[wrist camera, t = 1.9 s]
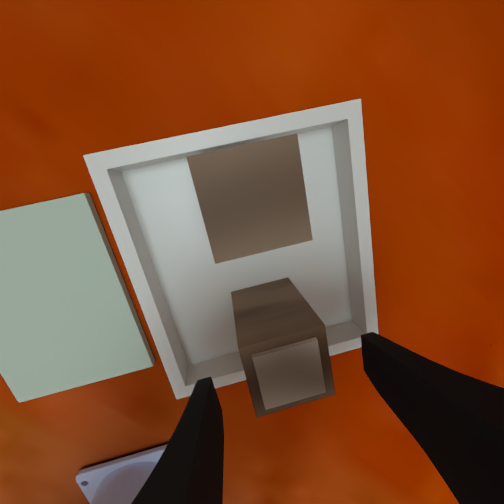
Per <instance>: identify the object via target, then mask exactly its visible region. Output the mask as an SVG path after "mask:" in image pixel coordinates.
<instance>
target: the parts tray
mask: <svg viewBox="0 0 504 504" xmlns="http://www.w3.org/2000/svg"><path fill="white" fill-rule="evenodd" d="M296 133H297V135H298V142H299V149H300V156H301V163H302V170H303V177H304V184H305V190H306V197H307V204H308V211H309V218H310V225H311V232H312V239H313V240H311V241H307V242H303V243H299V244H295V245H290V246H286V247H282V248H278V249H274V250H270V251H266V252H262V253H258V254H254V255H250V256H246V257H242V258H237V259H233V260H229V261H225V262H221V263H217V264H215V261H214V258H213V254H212V250H211V246H210V243H209V239H208V235H207V232H206V228H205V224H204V221H203V217H202V213H201V209H200V206H199V202H198V198H197V195H196V191H195V187H194V184H193V180H192V176H191V173H190V169H189V165H188V161H187V158H186V157H187V156H192V155H197V154H201V153H206V152H211V151H216V150H220V149H225V148H230V147H235V146H239V145H244V144H249V143H254V142H258V141H263V140H268V139H273V138H277V137H282V136H287V135H292V134H296ZM83 157H84V159H85V162H86V165H87V167H88V170H89V172H90V175H91V178H92V180H93V183H94V185H95V188H96V191H97V193H98V196H99V199H100V201H101V204H102V206H103V209H104V212H105V214H106V217H107V219H108V222H109V225H110V227H111V230H112V232H113V235H114V238H115V240H116V243H117V246H118V248H119V251H120V253H121V256H122V259H123V261H124V264H125V266H126V269H127V272H128V274H129V277H130V280H131V282H132V285H133V287H134V290H135V293H136V295H137V298H138V300H139V303H140V306H141V308H142V311H143V313H144V316H145V319H146V321H147V324H148V327H149V329H150V332H151V334H152V337H153V340H154V342H155V345H156V347H157V350H158V353H159V355H160V358H161V360H162V363H163V366H164V368H165V371H166V374H167V376H168V379H169V381H170V384H171V387H172V389H173V392H174V394H175V397H176V400H177V399H180V398H184V397H187V396H191V394H192V391H193V389H194V387H195V384H196V382H197V381H198V380H200V379H203V378H207V377H211V378H212V381H213V384H214V387H215V389H216V388H219V387H223V386H226V385H230V384H233V383H237V382H240V381H244V380H246V376H245V372H244V368H243V365H242V361H241V357H240V354H239V350H238V344H237V336H236V328H235V320H234V312H233V305H232V297H231V292H232V291H236V290H240V289H244V288H248V287H252V286H256V285H260V284H264V283H268V282H272V281H275V280H279V279H283V278H287V277H288V278H289V279H290V280H291V282H292V283H293V284H294V286H295V287H296V288H297V289H298V291H299V292H300V293H301V295H302V296H303V297H304V298H305V300H306V301H307V302H308V304H309V305H310V306H311V307H312V309H313V310H314V311H315V313H316V314H317V315H318V316H319V318H320V319H321V320H322V322H323V323H324V324H325V328H326V335H327V342H328V349H329V355H330V356H332V355H336V354H339V353H343V352H346V351H350V350H353V349H357V348H360V347H362V345H361V335H363V334H366V333H370V332H374V333H376V334H378V321H377V308H376V294H375V281H374V268H373V254H372V241H371V228H370V214H369V201H368V187H367V174H366V161H365V147H364V134H363V120H362V107H361V99H357V100H352V101H347V102H342V103H337V104H332V105H327V106H322V107H318V108H313V109H308V110H303V111H298V112H293V113H288V114H283V115H278V116H273V117H269V118H264V119H259V120H254V121H249V122H244V123H239V124H234V125H229V126H224V127H220V128H215V129H210V130H205V131H200V132H195V133H190V134H185V135H180V136H175V137H171V138H166V139H161V140H156V141H151V142H146V143H141V144H136V145H131V146H126V147H122V148H117V149H112V150H107V151H102V152H97V153H92V154H87V155H83Z"/></svg>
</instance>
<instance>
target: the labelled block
mask: <svg viewBox="0 0 504 504" xmlns="http://www.w3.org/2000/svg"><path fill="white" fill-rule="evenodd" d="M231 297H232V305H233V312H234V320H235V328H236V336H237V344H238V350H239V354H240V357H241V361H242V365H243V368H244V372H245V376H246V380H247V383H248V387H249V391H250V394H251V398H252V402H253V405H254V409H255V413H256V417H259V416H263V415H266V414H270V413H273V412H276V411H280V410H283V409H286V408H290V407H293V406H297V405H300V404H303V403H307V402H310V401H314V400H317V399H320V398H324V397H327V396H330V395H334V394H335V390H334V383H333V376H332V369H331V362H330V355H329V349H328V342H327V335H326V328H325V324H324V323H323V322H322V320H321V319H320V318H319V316H318V315H317V314H316V313H315V311H314V310H313V309H312V307H311V306H310V305H309V304H308V302H307V301H306V300H305V298H304V297H303V296H302V295H301V293H300V292H299V291H298V289H297V288H296V287H295V286H294V284H293V283H292V282H291V280H290V279H289V278H288V277H287V278H283V279H279V280H275V281H272V282H268V283H264V284H260V285H256V286H252V287H248V288H244V289H240V290H236V291H232V292H231Z"/></svg>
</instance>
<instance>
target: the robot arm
mask: <svg viewBox="0 0 504 504" xmlns="http://www.w3.org/2000/svg"><path fill="white" fill-rule="evenodd" d="M361 345H362V355H363V365H364V371H365V372H366V374H367V376H368V377H369V379H370V381H371V382H372V384H373V385H374V387H375V388H376V390H377V391H378V393H379V394H380V395H381V397H382V398H383V399H384V400H385V402H386V403H387V404H388V405H389V407H390V408H391V409H392V410H393V412H394V413H395V414H396V415H397V417H398V418H399V419H400V420H401V422H402V423H403V424H404V425H405V427H406V428H407V429H408V430H409V432H410V433H411V434H412V435H413V437H414V438H415V439H416V441H417V442H418V443H419V445H420V446H421V447H422V449H423V450H424V451H425V453H426V454H427V456H428V457H429V459H430V460H431V461H432V463H433V464H434V466H435V467H436V469H437V470H438V472H439V473H440V475H441V476H442V478H443V479H444V481H445V482H446V484H447V485H448V487H449V488H450V490H451V491H452V493H453V494H454V496H455V497H456V499H457V501H458V502H459V504H504V388H501V387H498V386H495V385H492V384H489V383H486V382H483V381H481V380H478V379H475V378H473V377H470V376H467V375H464V374H462V373H459V372H457V371H454V370H452V369H449V368H447V367H445V366H443V365H440V364H438V363H436V362H433V361H431V360H429V359H427V358H425V357H423V356H420V355H418V354H416V353H414V352H412V351H410V350H408V349H406V348H404V347H402V346H400V345H398V344H396V343H394V342H392V341H390V340H388V339H386V338H384V337H382V336H380V335H378V334H376V333H374V332H370V333H366V334H363V335H361ZM223 458H224V430H223V417H222V409H221V406H220V403H219V400H218V397H217V393H216V390H215V387H214V384H213V381H212V378H211V377H207V378H203V379H200V380H198V381H197V382H196V384H195V387H194V389H193V391H192V394H191V396H190V399H189V401H188V403H187V406H186V408H185V410H184V412H183V414H182V416H181V419H180V421H179V423H178V425H177V427H176V429H175V431H174V433H173V435H172V437H171V439H170V440H169V442H168V444H166V445H163V446H160V447H156V448H153V449H150V450H146V451H143V452H139V453H136V454H133V455H129V456H126V457H122V458H119V459H116V460H112V461H109V462H106V463H102V464H99V465H95V466H92V467H89V468H85V469H82V470H80V471H79V472H78V473H77V475H76V478H75V479H76V482H77V483H78V485H79V487H80V488H81V490H82V492H83V493H84V495H85V497H86V498H87V500H88V501H89V503H90V504H222V496H223Z"/></svg>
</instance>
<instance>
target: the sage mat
mask: <svg viewBox="0 0 504 504" xmlns="http://www.w3.org/2000/svg"><path fill="white" fill-rule="evenodd" d="M154 362H155V359H154V356H153V354H152V351H151V349H150V346H149V343H148V341H147V338H146V336H145V333H144V331H143V328H142V326H141V323H140V320H139V318H138V315H137V313H136V310H135V308H134V305H133V303H132V300H131V298H130V295H129V292H128V290H127V287H126V285H125V282H124V280H123V277H122V275H121V272H120V269H119V267H118V264H117V262H116V259H115V257H114V254H113V252H112V249H111V246H110V244H109V241H108V239H107V236H106V234H105V231H104V229H103V226H102V223H101V221H100V218H99V216H98V213H97V211H96V208H95V206H94V203H93V201H92V198H91V195H90V193H82V194H78V195H73V196H68V197H64V198H59V199H54V200H50V201H45V202H41V203H36V204H31V205H27V206H22V207H17V208H13V209H8V210H3V211H0V373H1V375H2V377H3V378H4V380H5V381H6V383H7V385H8V386H9V388H10V389H11V391H12V393H13V394H14V396H15V397H16V399H17V401H18V402H19V403H20V402H23V401H27V400H31V399H34V398H38V397H42V396H46V395H49V394H53V393H57V392H60V391H64V390H68V389H71V388H75V387H79V386H82V385H86V384H90V383H93V382H97V381H101V380H105V379H108V378H112V377H116V376H119V375H123V374H127V373H130V372H134V371H138V370H141V369H145V368H149V367H152V366H153V365H154Z"/></svg>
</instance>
